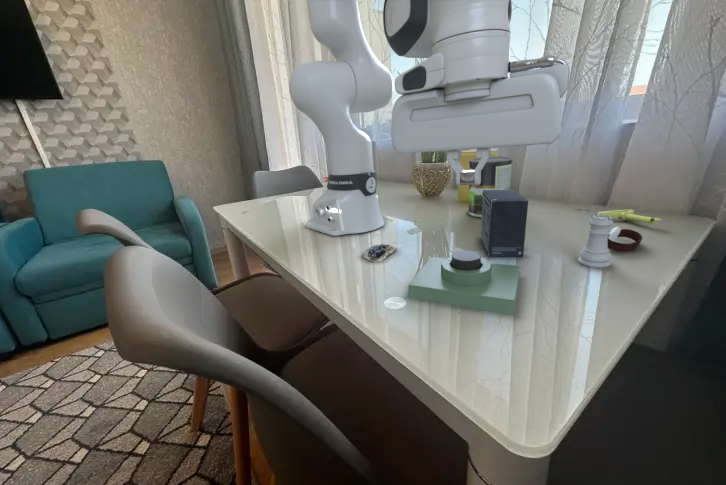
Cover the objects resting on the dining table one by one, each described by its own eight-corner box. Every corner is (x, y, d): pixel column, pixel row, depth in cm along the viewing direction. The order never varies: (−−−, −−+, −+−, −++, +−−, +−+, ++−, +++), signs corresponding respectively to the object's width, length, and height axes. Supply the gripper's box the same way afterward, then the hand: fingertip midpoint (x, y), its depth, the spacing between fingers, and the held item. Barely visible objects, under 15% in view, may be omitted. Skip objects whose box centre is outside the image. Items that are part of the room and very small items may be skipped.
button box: (408, 298, 47) (407, 273, 46) (430, 268, 56) (430, 247, 55) (513, 315, 41) (515, 287, 39) (519, 279, 50) (521, 255, 48)
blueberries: (399, 247, 67) (398, 239, 67) (393, 263, 60) (392, 253, 59) (368, 247, 69) (367, 239, 68) (358, 262, 62) (357, 253, 61)
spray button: (448, 270, 46) (448, 259, 46) (455, 260, 50) (455, 249, 49) (477, 273, 45) (478, 262, 44) (482, 262, 48) (482, 252, 47)
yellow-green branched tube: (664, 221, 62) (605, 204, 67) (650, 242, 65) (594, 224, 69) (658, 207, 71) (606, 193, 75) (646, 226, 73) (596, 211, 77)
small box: (526, 257, 57) (531, 199, 53) (487, 257, 58) (489, 201, 55) (512, 238, 67) (516, 187, 63) (479, 238, 68) (481, 189, 65)
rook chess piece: (571, 262, 53) (577, 215, 51) (589, 256, 55) (596, 211, 52) (599, 271, 50) (607, 221, 47) (617, 265, 51) (626, 216, 48)
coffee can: (472, 219, 82) (473, 163, 77) (464, 209, 92) (465, 159, 87) (515, 216, 81) (518, 159, 76) (502, 207, 90) (505, 155, 86)
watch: (618, 239, 61) (621, 220, 60) (648, 245, 57) (652, 226, 56) (594, 248, 58) (597, 229, 57) (625, 256, 54) (628, 235, 53)
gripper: (569, 56, 36) (557, 178, 41) (401, 85, 46) (406, 182, 50) (573, 45, 31) (559, 187, 36) (382, 81, 41) (390, 189, 45)
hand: (468, 184), depth 43 cm, fingers closed
